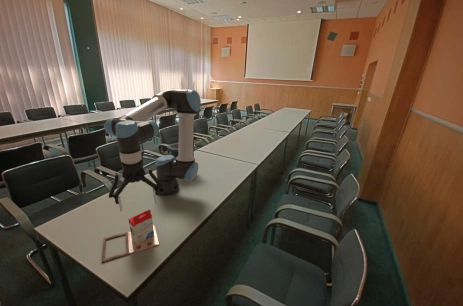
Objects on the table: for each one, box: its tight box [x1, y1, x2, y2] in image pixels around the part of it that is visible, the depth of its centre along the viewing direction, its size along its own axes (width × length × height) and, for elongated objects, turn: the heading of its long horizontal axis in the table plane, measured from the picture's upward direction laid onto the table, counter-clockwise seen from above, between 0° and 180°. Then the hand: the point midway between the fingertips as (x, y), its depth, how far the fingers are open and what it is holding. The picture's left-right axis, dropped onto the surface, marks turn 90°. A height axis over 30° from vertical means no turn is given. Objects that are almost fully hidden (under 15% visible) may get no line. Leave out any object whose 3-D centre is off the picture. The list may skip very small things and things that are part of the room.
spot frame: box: [101, 231, 130, 264], centre depth 90 cm, size 10×14×1 cm
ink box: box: [128, 208, 154, 245], centre depth 92 cm, size 8×5×15 cm, turn 140°
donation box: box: [166, 137, 195, 159], centre depth 159 cm, size 16×16×28 cm
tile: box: [127, 224, 160, 255], centre depth 95 cm, size 12×14×1 cm
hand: (138, 205), depth 89 cm, fingers open, 13 cm apart
